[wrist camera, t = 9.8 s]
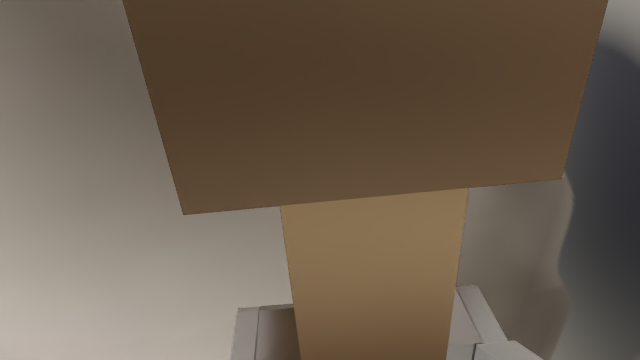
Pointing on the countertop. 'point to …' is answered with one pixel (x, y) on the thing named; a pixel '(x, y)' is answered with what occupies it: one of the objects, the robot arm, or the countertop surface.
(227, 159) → the wooden bridge block
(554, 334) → the countertop surface
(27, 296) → the countertop surface
